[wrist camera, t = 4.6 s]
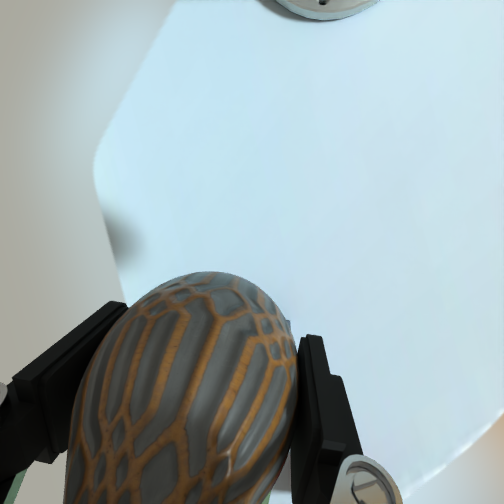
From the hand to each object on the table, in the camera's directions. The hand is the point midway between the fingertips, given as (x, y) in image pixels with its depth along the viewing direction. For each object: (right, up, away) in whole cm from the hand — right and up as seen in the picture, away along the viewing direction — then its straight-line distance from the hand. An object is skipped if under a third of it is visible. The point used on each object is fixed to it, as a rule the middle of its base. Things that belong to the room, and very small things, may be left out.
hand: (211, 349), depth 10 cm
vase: (0, +1, +2) cm, 3 cm away
